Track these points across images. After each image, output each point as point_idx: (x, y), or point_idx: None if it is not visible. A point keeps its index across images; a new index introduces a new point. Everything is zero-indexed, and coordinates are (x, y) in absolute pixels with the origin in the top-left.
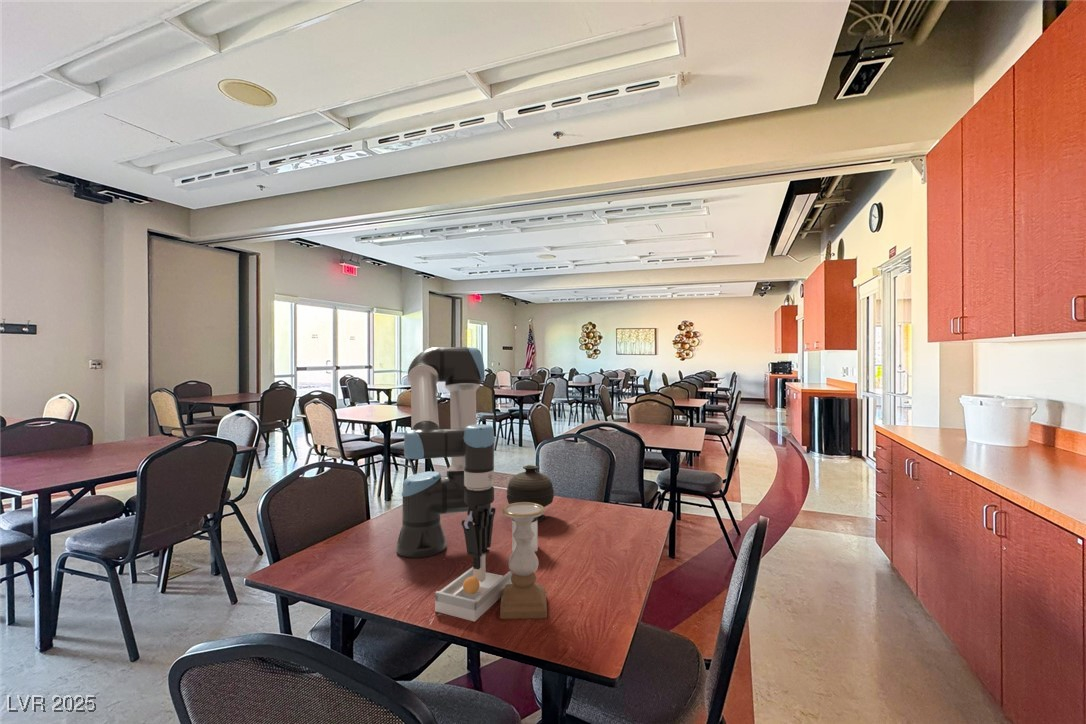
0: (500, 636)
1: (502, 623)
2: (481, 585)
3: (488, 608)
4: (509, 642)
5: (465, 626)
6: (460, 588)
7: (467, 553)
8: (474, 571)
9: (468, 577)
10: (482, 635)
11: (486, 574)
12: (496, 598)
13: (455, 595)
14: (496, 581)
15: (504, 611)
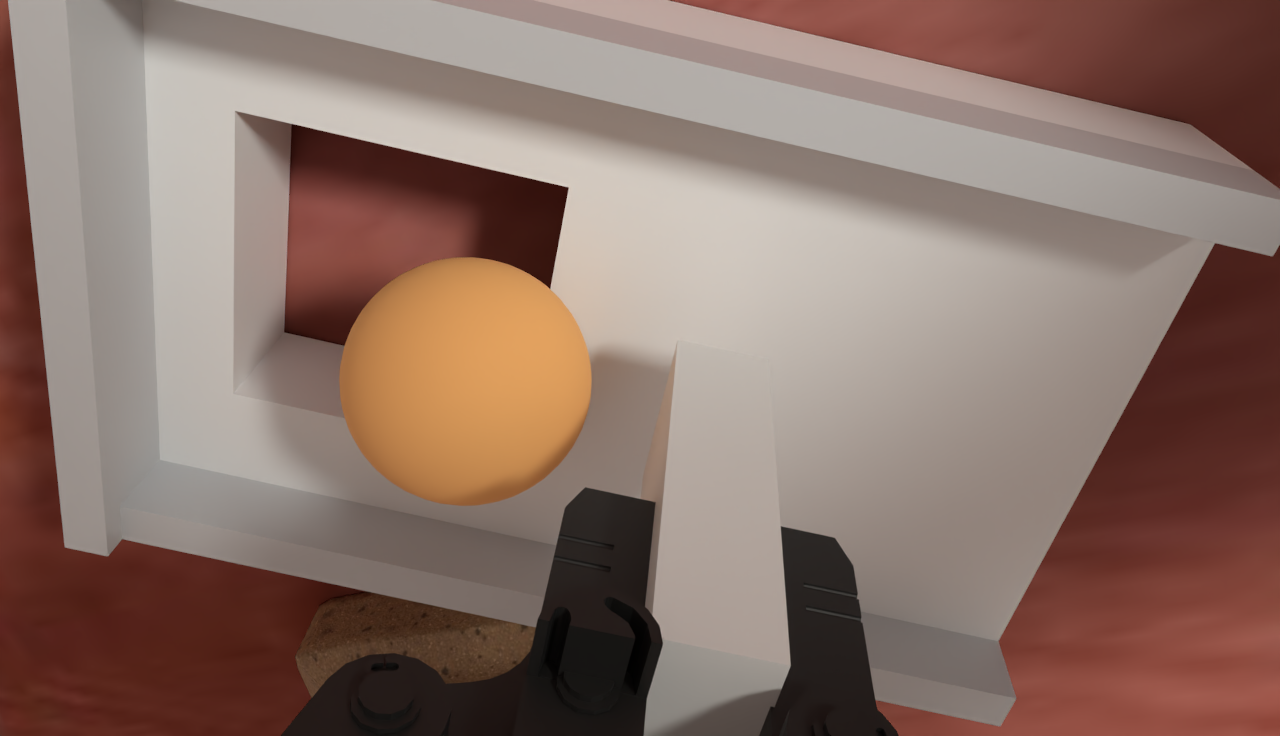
0: (89, 647)
1: (264, 628)
2: None
3: None
4: (55, 710)
5: None
6: (563, 144)
7: (314, 695)
8: (666, 434)
9: (432, 404)
10: (27, 528)
11: (1071, 374)
12: None
13: (78, 281)
14: (856, 539)
15: (307, 684)
